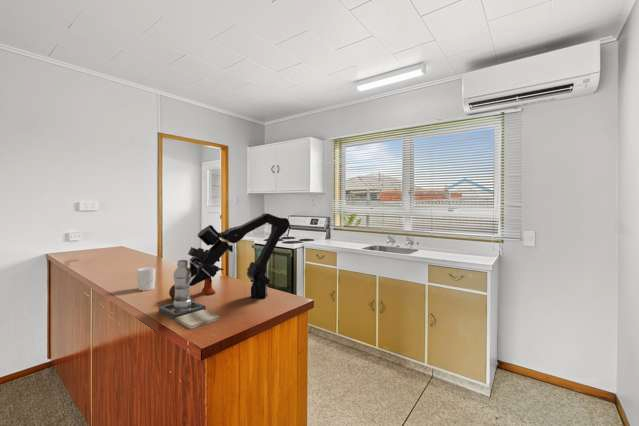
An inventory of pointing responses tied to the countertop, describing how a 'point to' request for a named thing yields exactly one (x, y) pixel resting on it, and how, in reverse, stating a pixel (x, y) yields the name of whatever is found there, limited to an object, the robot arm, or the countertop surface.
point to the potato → (172, 292)
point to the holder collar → (167, 311)
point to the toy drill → (210, 283)
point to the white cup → (146, 278)
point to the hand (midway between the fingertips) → (186, 282)
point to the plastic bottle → (182, 287)
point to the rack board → (197, 319)
